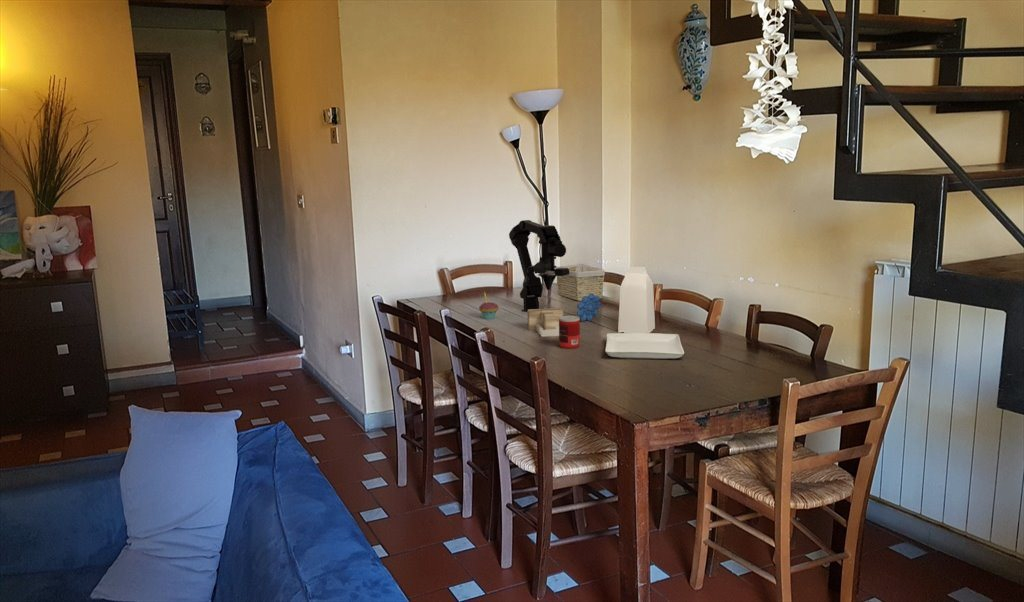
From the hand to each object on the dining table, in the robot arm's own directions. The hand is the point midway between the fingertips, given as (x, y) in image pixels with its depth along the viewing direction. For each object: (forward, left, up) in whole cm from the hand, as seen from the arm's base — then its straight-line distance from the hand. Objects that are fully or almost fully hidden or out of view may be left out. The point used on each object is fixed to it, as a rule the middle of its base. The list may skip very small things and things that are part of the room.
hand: (548, 289), depth 334 cm
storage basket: (-13, +47, -12) cm, 50 cm away
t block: (+15, -23, -12) cm, 30 cm away
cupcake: (-21, -16, -12) cm, 29 cm away
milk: (+45, -3, -12) cm, 47 cm away
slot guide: (+17, -25, -12) cm, 33 cm away
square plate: (+62, -30, -13) cm, 70 cm away
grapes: (+19, +2, -12) cm, 23 cm away
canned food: (+36, -39, -12) cm, 54 cm away
